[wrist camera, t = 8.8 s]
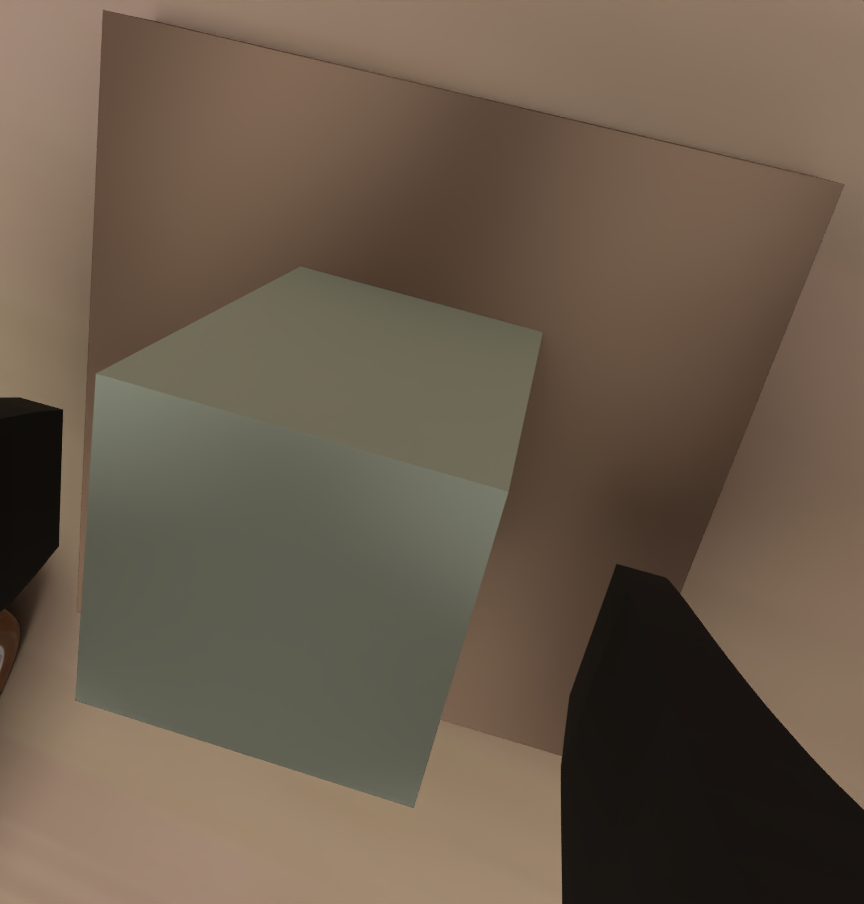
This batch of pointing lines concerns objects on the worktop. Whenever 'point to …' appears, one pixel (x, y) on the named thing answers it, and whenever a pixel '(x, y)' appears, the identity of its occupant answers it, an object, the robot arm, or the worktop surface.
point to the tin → (7, 643)
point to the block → (300, 523)
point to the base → (470, 297)
